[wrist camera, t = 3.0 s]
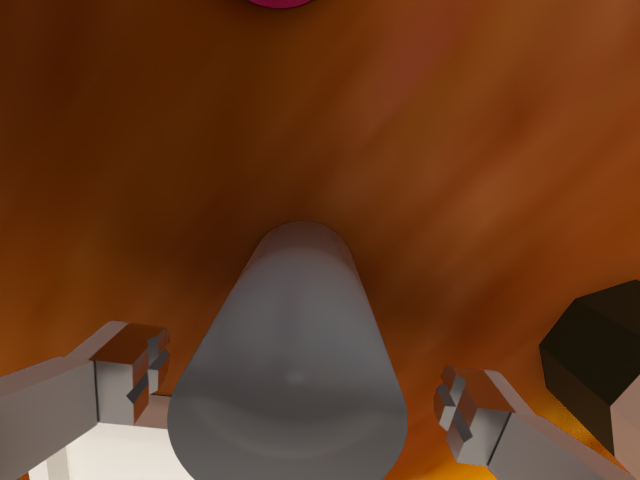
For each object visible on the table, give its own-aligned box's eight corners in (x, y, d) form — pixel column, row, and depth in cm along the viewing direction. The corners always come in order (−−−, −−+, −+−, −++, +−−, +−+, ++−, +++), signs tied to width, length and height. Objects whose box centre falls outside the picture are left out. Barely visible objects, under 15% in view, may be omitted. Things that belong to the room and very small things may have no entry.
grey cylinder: (247, 308, 16) (165, 503, 7) (256, 213, 14) (168, 312, 6) (343, 321, 16) (379, 522, 7) (362, 229, 14) (435, 346, 6)
